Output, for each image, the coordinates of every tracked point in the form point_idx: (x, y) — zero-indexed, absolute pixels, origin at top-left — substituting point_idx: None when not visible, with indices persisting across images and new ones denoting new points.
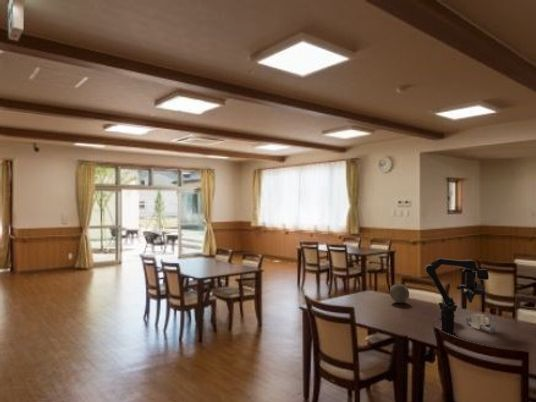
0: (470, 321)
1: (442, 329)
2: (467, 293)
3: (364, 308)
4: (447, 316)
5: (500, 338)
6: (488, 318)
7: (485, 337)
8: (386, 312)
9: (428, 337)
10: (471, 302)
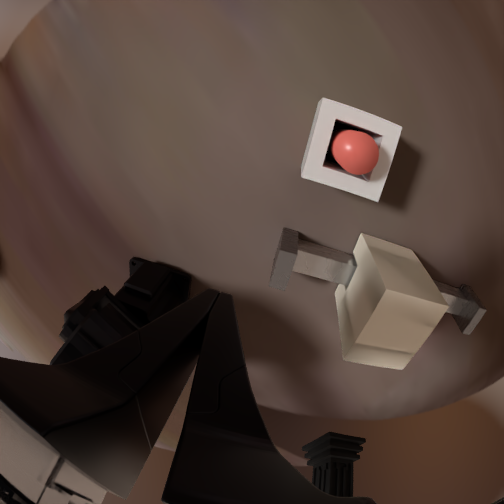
0: (301, 262)
1: (316, 468)
2: (133, 471)
3: (20, 348)
4: None
5: (486, 333)
6: (401, 127)
7: (437, 369)
8: (44, 349)
9: (290, 456)
10: (231, 295)
